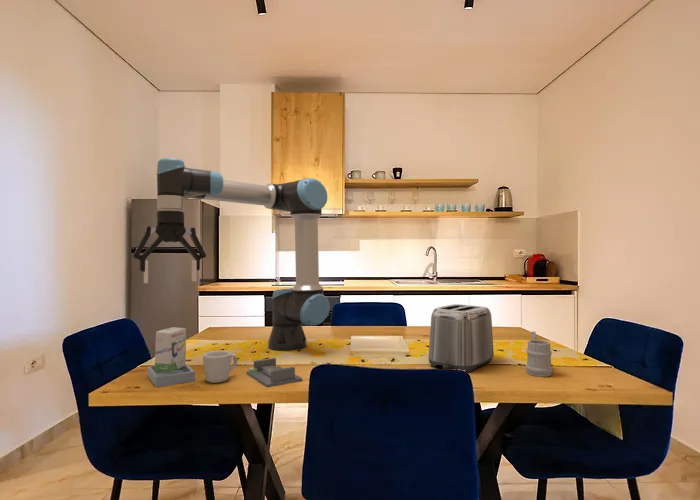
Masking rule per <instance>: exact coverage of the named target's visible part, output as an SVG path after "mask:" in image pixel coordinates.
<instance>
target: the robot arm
mask: <svg viewBox="0 0 700 500" xmlns="http://www.w3.org/2000/svg"><path fill="white" fill-rule="evenodd" d="M156 185H157V186H156V187H157V188H156V190H157V191H156V193H157V195H156V196H157V197H156V198H157V199H156V203H157V204H156V209H157V210H158V211H157V212H156V227H153V226H152V227H151V226H148V225H147V226H146V227H145V229H144V234H143V236H142V238H141V240H140V242H139V243H138V245H137V247H136V249H135V250H134V252H133V254H132V258H134V259H137V260H138V261H139V271H140V272H143V284H149V260H148V259H147V258H148V257H149V256H150V255H151V254H152V253H153V251H154V250H155V249H156V248H157V247H158V246H159V245H160V244H161V243H162V242H164V243H169V242H170V243H171V242H172V243H177V242H179V243H180V244H181V245H182V246H183V247H184V249H185V250H186V251H187V252H188V253H189V254H190V256H191V257H192V258H194V259H191V281H192V282H197V273H198V272H197V271H200V269H201V260H202V259H204V258H206V257H207V253H206V252H205V250H204V248H203V246H202V244H201V242H200V241H199V238H198V237H197V233H196V232H197V231H196V227H188V228H186V227H185V213H184V210H185V200H188V199H194V200H195V199H196V200H197V199H198V200H206V201H207V200H208V201H209V200H210V201H216V202H217V201H218V202H225V203H237V204H244V205H255V206H257V205H258V206H264V207H265V209H268V210H269V209H271V210H276V211H282V212H289V213H290V217H291V219H293V220H294V247H295V248H294V249H295V250H294V253H295V256H294V257H295V258H294V260H295V285H294V286H293V287H291V288H290V287H289V288H282V289H276V290H275V289H274V291H273V293H272V297H271V298H272V299H271V301H272V329H271V331H270V334H269V338H268V340H267V341H268V342H267V347H268V349H270V350H275V351H297V350H302V349H305V348H306V347H307V345H308V342H307V337H306V335H305V331H304V327H303V325H304V326H317V325H320V324H322V323H323V322H324V321H325V319H327V318H328V316H329V313H330V309H331V305H330V304H331V303H330V302H329V299H328V298H327V297H326V296H325V295H324V286H322V285H321V284H320V273H319V272H320V271H319V269H320V268H319V267H320V266H319V265H320V264H319V263H320V262H319V224H318V223H319V222H318V221H319V219H320V218H321V216H322V209H323V208H324V207H325V205H326V204H327V202H328V191H327V189H326V186H325V185H324V184H323V183H322V182H321V180H320V181H319V180H318V179H316V178H312V177H311V178H302V179H299V180H295V181H289V182H283V183H267V184H266V185H263V184H257V183H255V184H254V183H248V182H241V181H233V180H226V179H224V178H223V175H222V174H221V172H218V171H213V170H206V169H200V168H199V169H197V168H188V167H186V165H185V162H184V160H183V159H179V158H173V157H163V158H160V159H159V160H158V161H157V166H156ZM154 232H155V234H156V235H157V236H158V237H156V239H155V240H154V241H153V242H152V243H151V245H149V247H147V248H146V249H145V251H144V252H143V253H142V251H143V250H144V247H145V246H146V244H147V242H148V240H149V239H150V236H151V235H152V234H154ZM186 233H187V235H188V236H189V237H190V239H191V241H192V243H193V245H194V246H195V248H196V250H197V251H196V250H195V249H194V248H193V247H192V246H191V245H190V243H189V242H188V241H187V240H186V238H185V237H184V235H185V234H186ZM197 252H198V253H197ZM141 253H142V254H141ZM140 254H141V255H140ZM146 259H147V260H146Z"/></svg>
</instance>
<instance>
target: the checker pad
mask: <svg viewBox="0 0 700 500" xmlns="http://www.w3.org/2000/svg"><path fill="white" fill-rule="evenodd" d="M277 367H278V366H276V367H275V366H273V365H271V366H265V367H261V371H262V372H263V373H265V374H267V375H269V376H270V377H271V370H276V369H279V368H277Z"/></svg>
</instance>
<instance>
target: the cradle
mask: <svg viewBox="0 0 700 500" xmlns="http://www.w3.org/2000/svg"><path fill="white" fill-rule="evenodd" d="M271 365H273V366H275V367H277V368H279V369H276V370H271V377H270V376H269V375H267V374H265V373H263V372H262V371H261V367H265V366H271ZM295 371H296V367H294V366H290V367H285V368H283V367H281V366H277V358H276V357H269V358H263V359H258V360H257V359H256V360H253V367H248V371H246V375H248V376H249V377H251V379H253V380H256V381H257V382H258V383H260V384H261V385H263V386H265V387H266V388H269V387H276V386H280V385H287V384H291V383H296V382H302V381H303V378H302V377H301V376H299V375H296V372H295Z"/></svg>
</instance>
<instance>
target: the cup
mask: <svg viewBox="0 0 700 500" xmlns="http://www.w3.org/2000/svg"><path fill="white" fill-rule="evenodd" d="M232 358H233V362H231V361H232ZM202 360H203V367H204V377H205V380H206V381H207V382H208V383H213V384H217V383H224V382H226V381H227V380H228V379H229V378H230V374H231V373H230V371H233V370H234V369H236V368H237V366H238V356H237V355H236V354H234V353H232V352H231V351H228V350H212V351H207V352H204V353H203V355H202ZM231 363H232V365H231Z"/></svg>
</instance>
